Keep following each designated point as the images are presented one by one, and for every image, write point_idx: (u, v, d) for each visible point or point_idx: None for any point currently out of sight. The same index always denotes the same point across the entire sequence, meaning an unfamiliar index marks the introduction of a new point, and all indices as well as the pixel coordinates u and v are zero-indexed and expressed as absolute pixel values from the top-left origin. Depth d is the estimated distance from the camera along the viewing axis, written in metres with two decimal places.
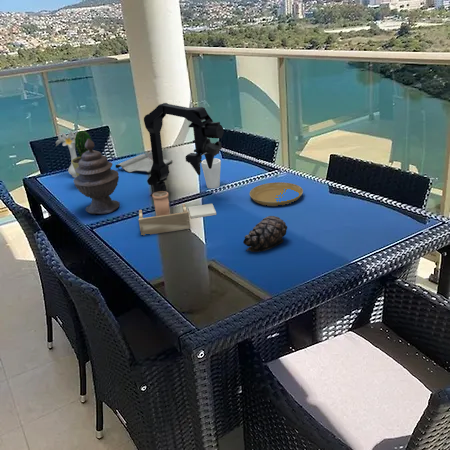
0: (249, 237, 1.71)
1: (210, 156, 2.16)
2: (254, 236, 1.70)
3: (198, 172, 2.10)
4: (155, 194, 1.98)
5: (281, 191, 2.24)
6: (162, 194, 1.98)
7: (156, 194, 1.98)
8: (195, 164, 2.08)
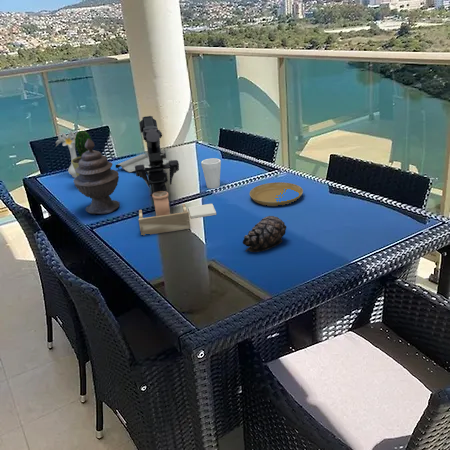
0: (248, 237, 1.71)
1: None
2: (253, 236, 1.70)
3: (147, 184, 2.05)
4: (155, 194, 1.98)
5: (281, 191, 2.24)
6: (162, 194, 1.98)
7: (156, 194, 1.98)
8: None
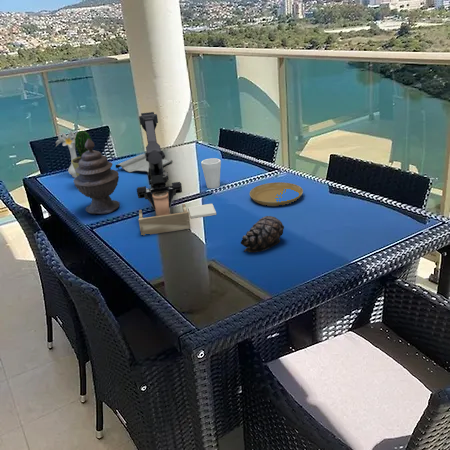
0: (247, 238, 1.71)
1: None
2: (252, 236, 1.70)
3: (152, 206, 2.00)
4: (155, 194, 1.98)
5: (281, 191, 2.24)
6: (162, 194, 1.98)
7: (156, 194, 1.98)
8: None
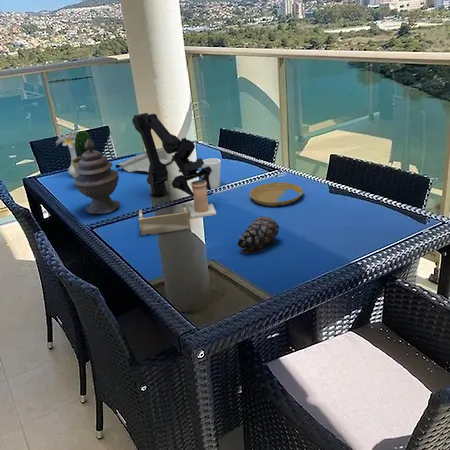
0: (243, 239, 1.70)
1: (204, 178, 2.09)
2: (249, 237, 1.70)
3: (190, 194, 2.03)
4: (195, 183, 2.04)
5: (281, 191, 2.24)
6: (201, 182, 2.04)
7: (196, 183, 2.04)
8: (184, 187, 2.04)
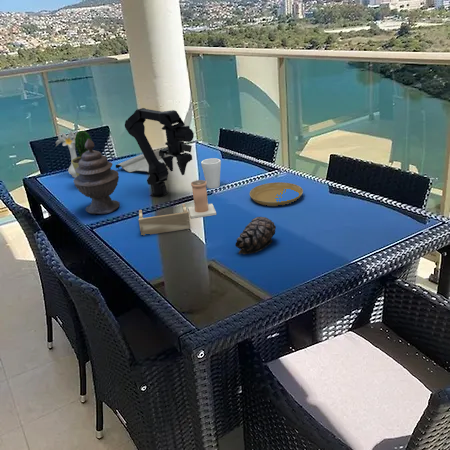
0: (241, 239, 1.70)
1: (170, 159, 2.22)
2: (247, 238, 1.69)
3: (183, 172, 2.17)
4: (194, 183, 2.04)
5: (281, 191, 2.24)
6: (201, 182, 2.04)
7: (195, 183, 2.04)
8: (182, 164, 2.14)
